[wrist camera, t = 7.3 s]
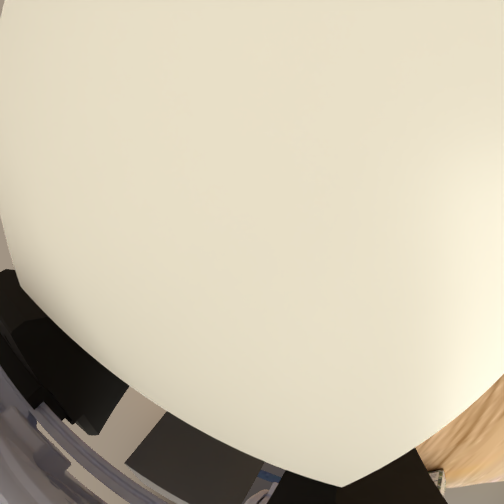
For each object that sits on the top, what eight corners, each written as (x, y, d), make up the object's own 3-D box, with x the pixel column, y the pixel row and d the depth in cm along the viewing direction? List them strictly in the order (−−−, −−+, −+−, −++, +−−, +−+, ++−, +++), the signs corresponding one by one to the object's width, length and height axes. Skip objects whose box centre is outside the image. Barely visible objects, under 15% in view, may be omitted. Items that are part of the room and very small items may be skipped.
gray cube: (277, 435, 9) (229, 522, 6) (256, 461, 11) (219, 524, 8) (184, 389, 10) (124, 463, 7) (185, 425, 12) (141, 482, 9)
